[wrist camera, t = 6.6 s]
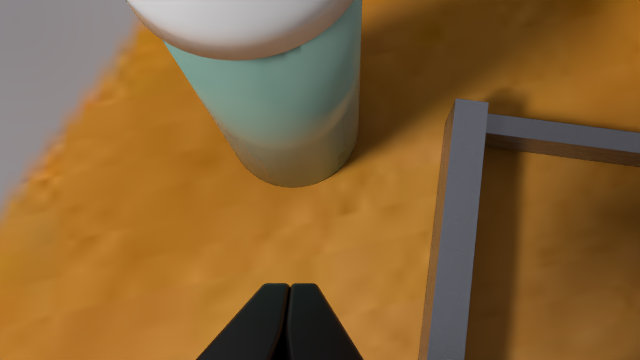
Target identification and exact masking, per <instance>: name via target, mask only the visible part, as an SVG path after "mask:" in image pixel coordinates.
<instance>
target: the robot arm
mask: <svg viewBox="0 0 640 360" xmlns="http://www.w3.org/2000/svg"><path fill="white" fill-rule="evenodd" d="M196 360H363V358H362V356H361V355H360V353H359V352H358V350H357V348H356V347H355V345H354V343H353V342H352V340H351V339H350V337H349V335H348V334H347V332H346V331H345V329H344V327H343V326H342V324H341V322H340V321H339V319H338V318H337V316H336V314H335V313H334V311H333V310H332V308H331V306H330V305H329V303H328V301H327V300H326V298H325V297H324V295H323V293H322V292H321V290H320V289H319V287H318V286H317V285H316V284H314V283H295V284H292V285H291V287H290V286H289V285H288V284H286V283H266V284H264V285H262V286H261V288H260V289H259V290H258V291H257V292H256V293H255V294H254V295H253V296H252V298H251V299H250V300H249V301H248V302H247V303H246V304H245V305H244V306H243V308H242V309H241V310H240V311H239V312H238V313H237V314H236V315H235V317H234V318H233V319H232V320H231V321H230V322H229V323H228V324H227V325H226V327H225V328H224V329H223V330H222V331H221V332H220V333H219V334H218V336H217V337H216V338H215V339H214V340H213V341H212V342H211V343H210V344H209V346H208V347H207V348H206V349H205V350H204V351H203V352H202V353H201V354H200V356H199V357H198V358H197V359H196Z"/></svg>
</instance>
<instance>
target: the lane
mask: <svg viewBox="0 0 640 360" xmlns="http://www.w3.org/2000/svg"><path fill="white" fill-rule="evenodd" d="M484 146H486V147H493V148H501V149H508V150H516V151H523V152H531V153H538V154H546V155H553V156H561V157H568V158H575V159H583V160H590V161H598V162H605V163H613V164H620V165H628V166H635V167H640V133H636V132H628V131H621V130H613V129H605V128H597V127H590V126H582V125H574V124H566V123H558V122H551V121H543V120H535V119H527V118H520V117H512V116H504V115H496V114H488V102H480V101H472V100H465V99H457V98H456V99H455V101H454V104H453V106H452V108H451V111H450V113H449V115H448V118H447V120H446V122H445V130H444V139H443V147H442V156H441V165H440V174H439V182H438V191H437V200H436V209H435V217H434V226H433V235H432V243H431V252H430V261H429V270H428V278H427V287H426V296H425V305H424V313H423V322H422V331H421V339H420V348H419V357H418V360H464V356H465V346H466V335H467V325H468V314H469V304H470V293H471V283H472V272H473V262H474V251H475V240H476V230H477V219H478V209H479V198H480V188H481V177H482V167H483V156H484Z"/></svg>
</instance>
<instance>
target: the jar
mask: <svg viewBox="0 0 640 360" xmlns="http://www.w3.org/2000/svg"><path fill="white" fill-rule="evenodd" d="M126 2H127V3H128V5H129V6H130V8H131V9H132V11H133V12H134V14H135V15H136V16H137V17H138V18H139V20H140V21H141V22H142V23H143V24H144V25H145V26H146V27H147V28H148V29H149V30H150V31H151V32H152V33H154V34H155V35H156V36H157V37H159V38H160V39H162V40H163V42H164V43H165V45H166V46H167V48H168V49H169V51H170V53H171V54H172V56H173V57H174V59H175V60H176V62H177V63H178V65H179V67H180V68H181V70H182V71H183V73H184V74H185V76H186V77H187V79H188V80H189V82H190V84H191V85H192V87H193V88H194V90H195V91H196V93H197V94H198V96H199V98H200V99H201V101H202V102H203V104H204V105H205V107H206V108H207V110H208V111H209V113H210V115H211V116H212V118H213V119H214V121H215V122H216V124H217V125H218V127H219V129H220V130H221V132H222V133H223V135H224V136H225V138H226V139H227V141H228V142H229V144H230V146H231V147H232V149H233V150H234V152H235V153H236V155H237V156H238V158H239V160H240V161H241V163H242V164H243V165H244V166H245V167H246V169H248V170H249V171H250V172H251V173H252V174H253V175H255V176H256V177H258V178H259V179H261V180H263V181H265V182H267V183H270V184H273V185H276V186H281V187H289V188H295V187H304V186H309V185H313V184H316V183H318V182H321V181H323V180H325V179H327V178H328V177H330V176H331V175H333V174H334V173H335V172H336V171H338V170H339V169H340V168H341V167H342V166H343V165H344V164H345V162H346V161H347V159H348V158H349V157H350V155H351V153H352V151H353V149H354V146H355V144H356V141H357V136H358V128H359V94H360V57H361V20H362V0H126Z"/></svg>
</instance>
